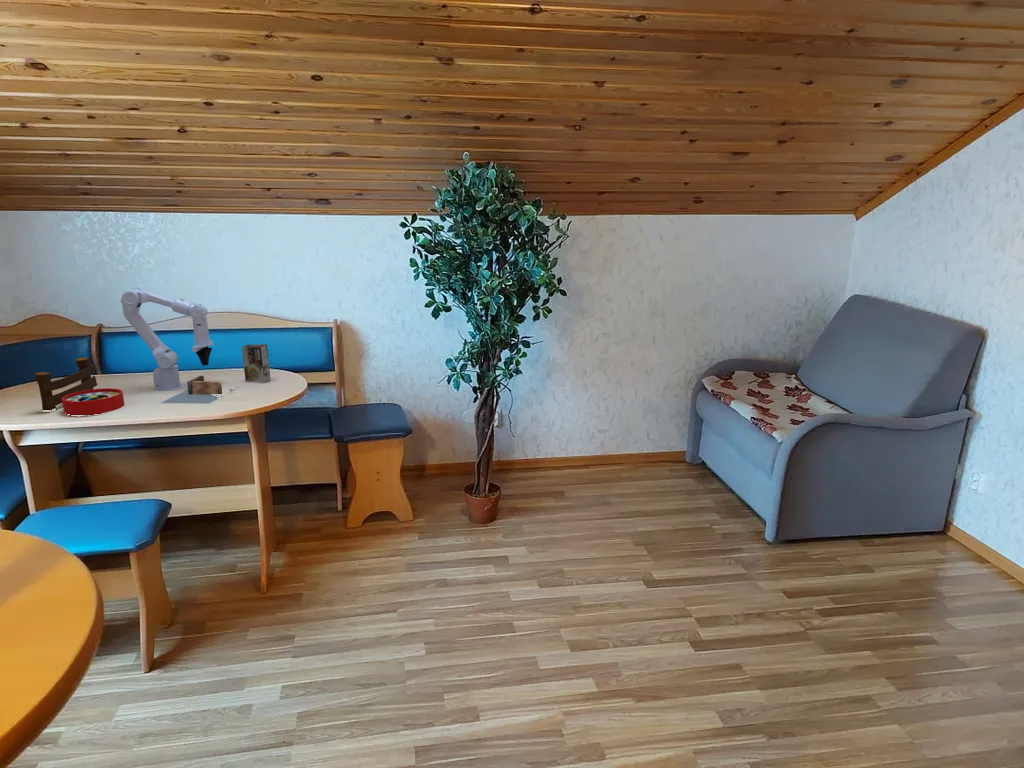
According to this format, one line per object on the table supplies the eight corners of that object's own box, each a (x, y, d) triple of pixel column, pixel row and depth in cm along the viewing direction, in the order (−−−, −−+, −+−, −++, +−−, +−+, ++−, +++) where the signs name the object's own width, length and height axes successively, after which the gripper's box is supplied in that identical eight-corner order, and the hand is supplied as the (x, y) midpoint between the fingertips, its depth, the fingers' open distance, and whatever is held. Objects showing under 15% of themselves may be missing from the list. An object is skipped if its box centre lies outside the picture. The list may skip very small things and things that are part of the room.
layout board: (160, 403, 267) (160, 402, 267) (194, 387, 292) (194, 386, 292) (209, 404, 266) (209, 403, 266) (239, 387, 291) (239, 386, 291)
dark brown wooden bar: (187, 394, 280) (186, 382, 278) (201, 387, 291) (200, 375, 290) (191, 394, 280) (190, 382, 278) (205, 387, 291) (204, 375, 289)
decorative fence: (51, 413, 256) (44, 374, 252) (35, 414, 255) (28, 375, 252) (100, 390, 288) (94, 356, 284) (86, 391, 288) (80, 356, 284)
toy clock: (133, 388, 269) (102, 402, 250) (135, 402, 271) (104, 417, 251) (84, 388, 270) (48, 401, 251) (86, 402, 271) (51, 417, 252)
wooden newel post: (192, 393, 280) (191, 382, 278) (194, 392, 281) (193, 381, 280) (221, 394, 278) (219, 382, 277) (223, 393, 280) (221, 381, 279)
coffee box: (271, 379, 305) (267, 344, 301) (264, 383, 299) (261, 347, 295) (251, 379, 306) (248, 344, 302) (244, 382, 300) (241, 346, 296)
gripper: (202, 336, 281) (205, 368, 285) (218, 330, 295) (222, 361, 299) (185, 336, 282) (189, 368, 285) (202, 330, 296) (206, 361, 299)
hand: (205, 365), depth 292 cm, fingers closed
